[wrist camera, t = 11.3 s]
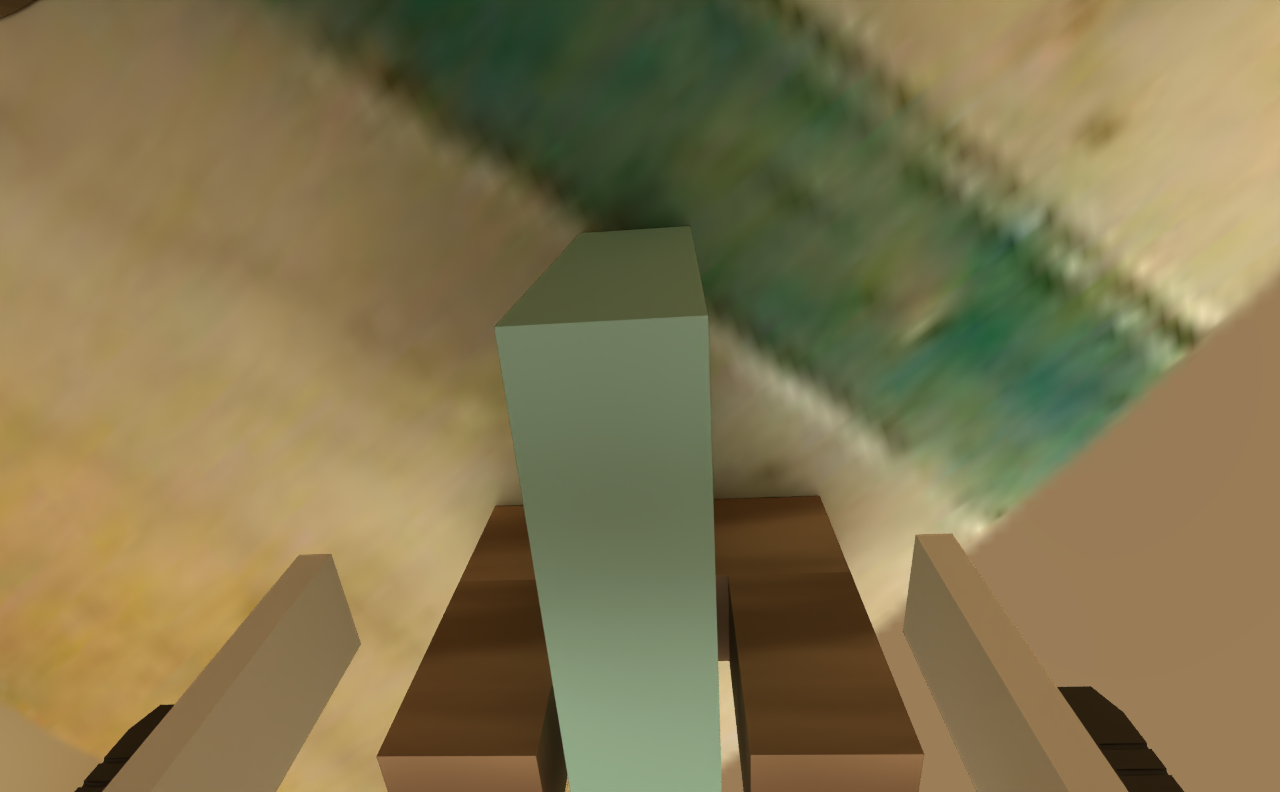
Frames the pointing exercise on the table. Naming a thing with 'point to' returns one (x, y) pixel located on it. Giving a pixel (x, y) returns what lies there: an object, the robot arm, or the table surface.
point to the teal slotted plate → (621, 505)
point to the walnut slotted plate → (746, 636)
